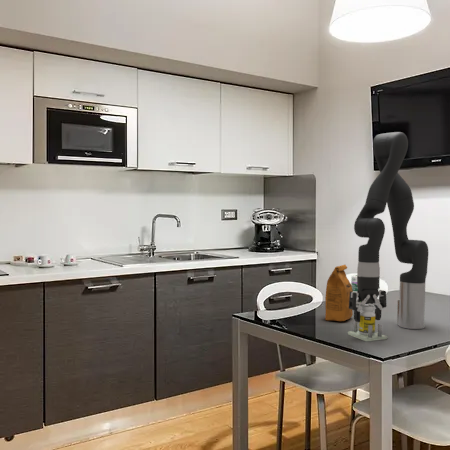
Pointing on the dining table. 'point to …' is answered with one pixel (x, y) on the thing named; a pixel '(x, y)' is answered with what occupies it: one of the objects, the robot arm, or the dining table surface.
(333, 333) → the dining table surface
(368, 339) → the peg board
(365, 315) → the supplement bottle
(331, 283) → the coffee package
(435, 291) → the dining table surface
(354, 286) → the syrup box
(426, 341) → the dining table surface
